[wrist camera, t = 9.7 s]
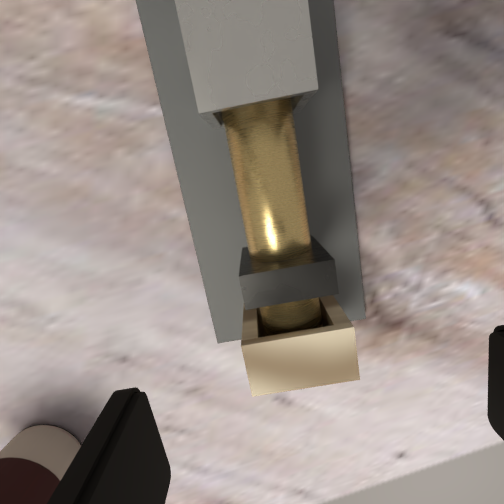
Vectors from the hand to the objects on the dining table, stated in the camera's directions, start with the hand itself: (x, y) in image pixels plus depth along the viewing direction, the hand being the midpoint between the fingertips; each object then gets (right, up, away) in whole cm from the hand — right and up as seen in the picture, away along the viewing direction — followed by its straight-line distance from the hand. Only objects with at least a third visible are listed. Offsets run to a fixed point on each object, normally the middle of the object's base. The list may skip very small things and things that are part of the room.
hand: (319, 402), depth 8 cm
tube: (0, +7, +14) cm, 15 cm away
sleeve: (-2, +17, +14) cm, 22 cm away
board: (-1, +11, +16) cm, 19 cm away
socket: (+1, 0, +19) cm, 19 cm away
